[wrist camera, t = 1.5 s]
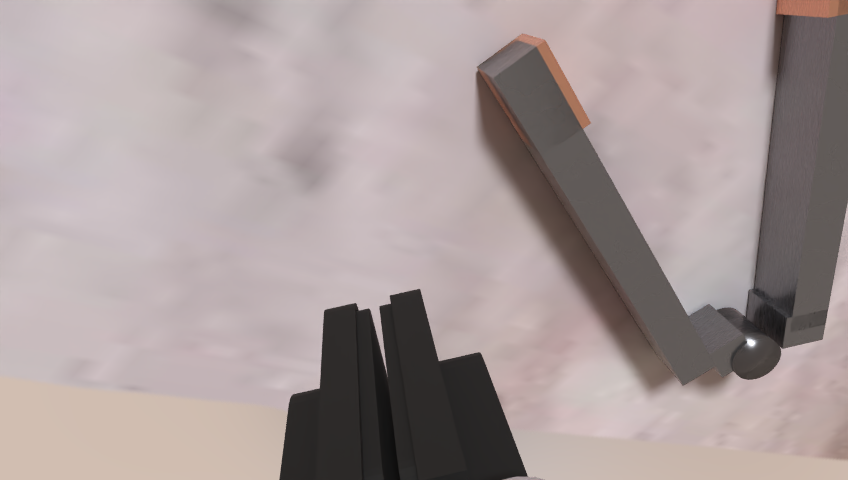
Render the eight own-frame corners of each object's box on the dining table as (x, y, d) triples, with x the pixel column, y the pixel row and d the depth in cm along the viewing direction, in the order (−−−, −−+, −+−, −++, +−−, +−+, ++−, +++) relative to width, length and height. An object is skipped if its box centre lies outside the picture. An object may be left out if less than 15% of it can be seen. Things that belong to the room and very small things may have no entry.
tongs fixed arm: (839, -96, 24) (903, -106, 21) (783, 309, 33) (822, 339, 30) (786, -86, 24) (844, -95, 21) (744, 318, 33) (780, 349, 30)
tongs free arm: (579, -9, 24) (612, -8, 21) (748, 328, 33) (786, 362, 30) (476, 67, 24) (494, 78, 21) (669, 376, 34) (700, 412, 31)
